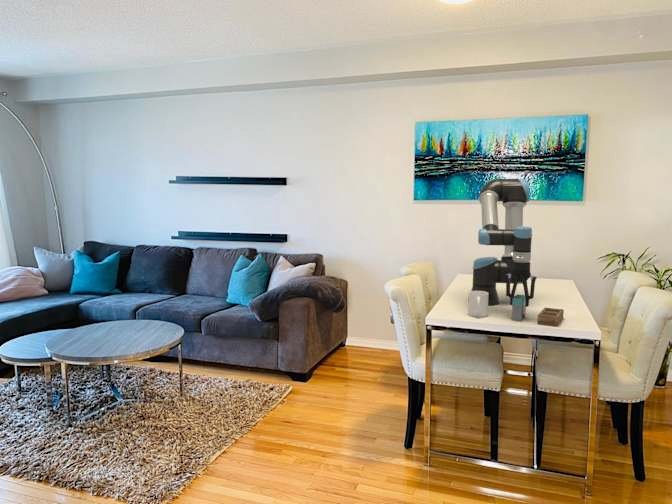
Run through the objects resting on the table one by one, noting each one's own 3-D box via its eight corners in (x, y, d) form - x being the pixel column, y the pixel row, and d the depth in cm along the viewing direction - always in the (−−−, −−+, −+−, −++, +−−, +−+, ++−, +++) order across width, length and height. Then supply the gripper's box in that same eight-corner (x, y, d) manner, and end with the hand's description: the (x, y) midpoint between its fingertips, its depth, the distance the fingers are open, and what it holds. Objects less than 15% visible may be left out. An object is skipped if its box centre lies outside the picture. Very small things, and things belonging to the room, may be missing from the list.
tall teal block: (520, 321, 228) (522, 299, 226) (511, 320, 230) (512, 298, 228) (525, 317, 236) (526, 295, 235) (516, 315, 238) (517, 294, 237)
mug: (467, 318, 233) (468, 294, 231) (468, 312, 244) (469, 290, 243) (487, 319, 230) (488, 296, 229) (487, 313, 242) (488, 291, 241)
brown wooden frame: (557, 326, 219) (557, 317, 219) (537, 324, 223) (537, 315, 223) (563, 318, 234) (563, 309, 234) (544, 315, 239) (544, 307, 238)
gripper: (499, 260, 231) (497, 312, 234) (540, 263, 222) (537, 317, 225) (503, 259, 238) (501, 309, 240) (543, 261, 229) (540, 313, 231)
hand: (518, 312), depth 233 cm, fingers closed on tall teal block, 4 cm apart
